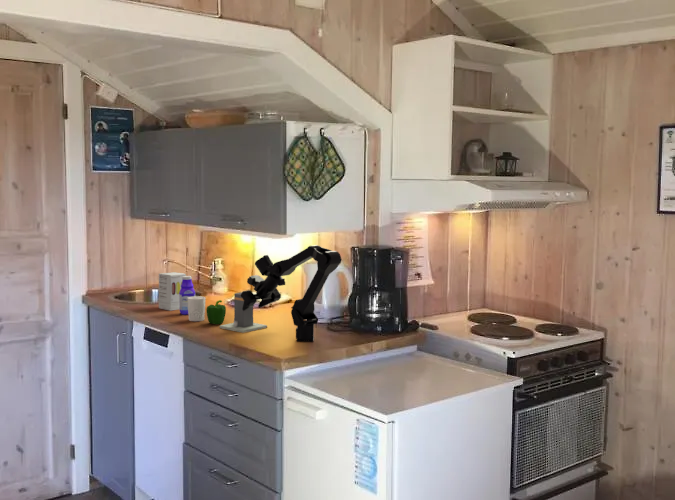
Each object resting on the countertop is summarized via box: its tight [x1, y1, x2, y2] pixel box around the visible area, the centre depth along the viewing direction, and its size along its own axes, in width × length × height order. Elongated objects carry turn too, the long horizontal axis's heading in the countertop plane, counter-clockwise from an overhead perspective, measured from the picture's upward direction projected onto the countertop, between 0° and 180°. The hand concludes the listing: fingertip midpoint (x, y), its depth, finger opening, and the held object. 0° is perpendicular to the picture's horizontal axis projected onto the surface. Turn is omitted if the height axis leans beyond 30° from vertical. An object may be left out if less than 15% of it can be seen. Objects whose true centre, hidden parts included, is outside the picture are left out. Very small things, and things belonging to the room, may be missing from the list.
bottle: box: [178, 275, 196, 315], centre depth 339 cm, size 7×6×17 cm
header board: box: [219, 320, 268, 334], centre depth 311 cm, size 14×14×4 cm
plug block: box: [233, 291, 254, 327], centre depth 311 cm, size 6×6×14 cm
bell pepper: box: [206, 299, 227, 325], centre depth 319 cm, size 8×8×10 cm
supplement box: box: [158, 271, 187, 312], centre depth 353 cm, size 10×9×17 cm
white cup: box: [187, 295, 206, 322], centre depth 326 cm, size 8×8×10 cm
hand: (251, 308), depth 308 cm, fingers open, 9 cm apart
